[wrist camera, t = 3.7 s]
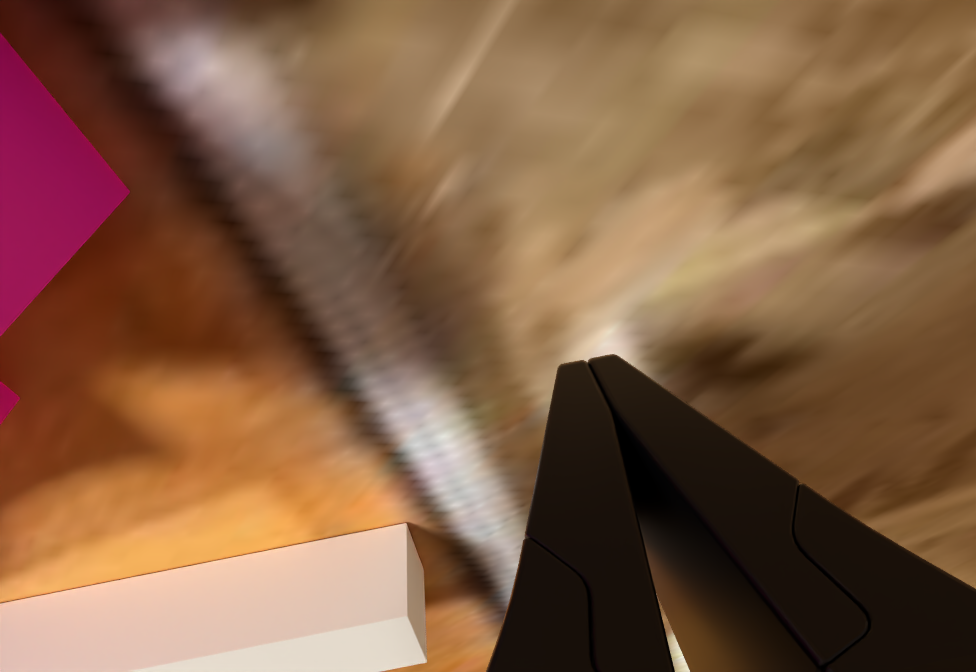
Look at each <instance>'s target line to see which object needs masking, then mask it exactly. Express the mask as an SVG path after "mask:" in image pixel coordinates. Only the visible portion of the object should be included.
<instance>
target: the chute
mask: <svg viewBox="0 0 976 672" xmlns="http://www.w3.org/2000/svg"><path fill="white" fill-rule="evenodd" d="M426 662H427V646H426V618H425V590H424V569H423V566H422V564H421V561H420V558H419V556H418V553H417V550H416V548H415V545H414V542H413V539H412V537H411V534H410V531H409V529H408V526H407V523H404V524H399V525H394V526H388V527H383V528H378V529H373V530H368V531H363V532H358V533H353V534H348V535H343V536H338V537H333V538H328V539H323V540H318V541H313V542H308V543H303V544H298V545H293V546H288V547H283V548H278V549H273V550H268V551H263V552H257V553H252V554H247V555H242V556H237V557H232V558H227V559H222V560H217V561H212V562H207V563H202V564H197V565H192V566H187V567H182V568H177V569H172V570H167V571H162V572H157V573H152V574H147V575H142V576H137V577H132V578H126V579H121V580H116V581H111V582H106V583H101V584H96V585H91V586H86V587H81V588H76V589H71V590H66V591H61V592H56V593H51V594H46V595H41V596H36V597H31V598H26V599H21V600H16V601H11V602H6V603H1V604H0V672H381V671H386V670H391V669H396V668H401V667H406V666H411V665H416V664H421V663H426Z"/></svg>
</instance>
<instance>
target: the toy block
mask: <svg viewBox="0 0 976 672" xmlns="http://www.w3.org/2000/svg"><path fill="white" fill-rule="evenodd" d="M129 193H130V191H129V190H128V188H127V187H126V186H125V185H124V183H123V182H122V181H121V180H120V179H119V177H118V176H117V175H116V174H115V172H114V171H113V170H112V169H111V168H110V166H109V165H108V164H107V163H106V161H105V160H104V159H103V158H102V157H101V155H100V154H99V153H98V152H97V150H96V149H95V148H94V147H93V146H92V144H91V143H90V142H89V141H88V139H87V138H86V137H85V136H84V135H83V133H82V132H81V131H80V130H79V128H78V127H77V126H76V125H75V124H74V122H73V121H72V120H71V119H70V117H69V116H68V115H67V114H66V113H65V111H64V110H63V109H62V108H61V106H60V105H59V104H58V103H57V102H56V100H55V99H54V98H53V97H52V95H51V94H50V93H49V92H48V91H47V89H46V88H45V87H44V86H43V84H42V83H41V82H40V81H39V79H38V78H37V77H36V76H35V75H34V73H33V72H32V71H31V70H30V68H29V67H28V66H27V65H26V64H25V62H24V61H23V60H22V59H21V57H20V56H19V55H18V54H17V53H16V51H15V50H14V49H13V48H12V46H11V45H10V44H9V43H8V42H7V40H6V39H5V38H4V37H3V35H2V34H1V33H0V336H1V335H2V334H3V333H4V332H5V331H6V330H7V329H8V327H9V326H10V325H11V324H12V323H13V322H14V321H15V320H16V319H17V317H18V316H19V315H20V314H21V313H22V312H23V311H24V310H25V309H26V307H27V306H28V305H29V304H30V303H31V302H32V301H33V300H34V299H35V297H36V296H37V295H38V294H39V293H40V292H41V291H42V290H43V289H44V287H45V286H46V285H47V284H48V283H49V282H50V281H51V280H52V279H53V277H54V276H55V275H56V274H57V273H58V272H59V271H60V270H61V269H62V267H63V266H64V265H65V264H66V263H67V262H68V261H69V260H70V259H71V257H72V256H73V255H74V254H75V253H76V252H77V251H78V250H79V249H80V247H81V246H82V245H83V244H84V243H85V242H86V241H87V240H88V239H89V237H90V236H91V235H92V234H93V233H94V232H95V231H96V230H97V229H98V227H99V226H100V225H101V224H102V223H103V222H104V221H105V220H106V219H107V217H108V216H109V215H110V214H111V213H112V212H113V211H114V210H115V209H116V207H117V206H118V205H119V204H120V203H121V202H122V201H123V200H124V199H125V198H126V196H127V195H128V194H129ZM19 399H20V397H19V396H17V395H16V394H15V393H14V392H13V391H12V390H10V389H9V388H8V387H7V386H6V385H4V384H3V383H2V382H1V381H0V425H1V423H2V422H3V421H4V419H5V418H6V417H7V415H8V414H9V413H10V411H11V410H12V409H13V407H14V406H15V405H16V403H17V402H18V401H19Z"/></svg>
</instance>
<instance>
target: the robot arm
mask: <svg viewBox="0 0 976 672" xmlns="http://www.w3.org/2000/svg"><path fill="white" fill-rule="evenodd" d="M656 593H657V595H656ZM657 596H658V598H659V600H660V603H661V605H662V607H663V610H664V612H665V614H666V616H667V619H668V621H669V623H670V626H671V628H672V630H673V633H674V635H675V637H676V640H677V642H678V644H679V647H680V649H681V651H682V653H683V656H684V658H685V660H686V663H687V665H688V667H689V670H690V672H976V589H975V588H973V587H972V586H970V585H968V584H966V583H965V582H963V581H961V580H959V579H957V578H956V577H954V576H952V575H950V574H949V573H947V572H945V571H943V570H942V569H940V568H938V567H936V566H935V565H933V564H931V563H929V562H928V561H926V560H924V559H922V558H921V557H919V556H917V555H915V554H914V553H912V552H910V551H909V550H907V549H905V548H904V547H902V546H900V545H898V544H897V543H895V542H893V541H892V540H890V539H888V538H887V537H885V536H883V535H882V534H880V533H878V532H877V531H875V530H873V529H872V528H870V527H868V526H867V525H865V524H864V523H862V522H861V521H859V520H858V519H856V518H854V517H853V516H851V515H850V514H848V513H847V512H845V511H844V510H842V509H841V508H839V507H838V506H836V505H835V504H833V503H832V502H830V501H829V500H827V499H826V498H824V497H823V496H821V495H820V494H818V493H817V492H815V491H814V490H813V489H811V488H810V487H808V486H807V485H805V484H800V485H799V481H798V480H797V479H796V478H795V477H793V476H792V475H790V474H789V473H787V472H786V471H785V470H783V469H782V468H780V467H779V466H777V465H776V464H774V463H773V462H772V461H770V460H769V459H767V458H766V457H764V456H763V455H761V454H760V453H758V452H757V451H756V450H754V449H753V448H751V447H750V446H748V445H747V444H745V443H744V442H742V441H741V440H740V439H738V438H737V437H735V436H734V435H732V434H731V433H729V432H728V431H727V430H725V429H724V428H722V427H721V426H719V425H718V424H716V423H715V422H713V421H712V420H711V419H709V418H708V417H706V416H705V415H703V414H702V413H700V412H699V411H697V410H696V409H695V408H693V407H692V406H690V405H689V404H687V403H686V402H684V401H683V400H682V399H680V398H679V397H677V396H676V395H674V394H673V393H671V392H670V391H668V390H667V389H666V388H664V387H663V386H661V385H660V384H658V383H657V382H655V381H654V380H653V379H651V378H650V377H648V376H647V375H645V374H644V373H642V372H641V371H639V370H638V369H637V368H635V367H634V366H632V365H631V364H629V363H628V362H626V361H625V360H623V359H622V358H621V357H619V356H617V355H615V354H610V355H605V356H600V357H595V358H591V359H589V360H588V363H587V362H586V361H584V360H580V361H574V362H569V363H564V364H561V365H560V366H559V367H558V370H557V375H556V380H555V385H554V390H553V395H552V400H551V405H550V410H549V415H548V420H547V425H546V430H545V435H544V440H543V445H542V450H541V456H540V461H539V466H538V471H537V476H536V481H535V486H534V491H533V496H532V501H531V506H530V511H529V516H528V521H527V526H526V531H525V539H524V540H523V545H522V550H521V555H520V560H519V564H518V569H517V573H516V577H515V581H514V585H513V590H512V594H511V598H510V601H509V605H508V608H507V611H506V614H505V617H504V620H503V624H502V627H501V630H500V633H499V636H498V639H497V642H496V645H495V648H494V651H493V653H492V656H491V659H490V662H489V665H488V667H487V670H486V672H675V670H674V666H673V662H672V658H671V654H670V649H669V645H668V641H667V637H666V633H665V628H664V624H663V620H662V616H661V612H660V608H659V603H658V599H657Z"/></svg>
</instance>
